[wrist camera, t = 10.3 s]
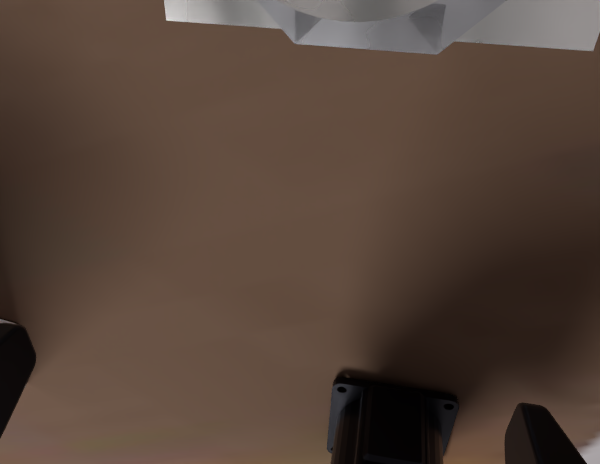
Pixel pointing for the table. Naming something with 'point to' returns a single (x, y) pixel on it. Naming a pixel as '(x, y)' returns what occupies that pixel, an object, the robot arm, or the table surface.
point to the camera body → (415, 23)
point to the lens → (356, 8)
